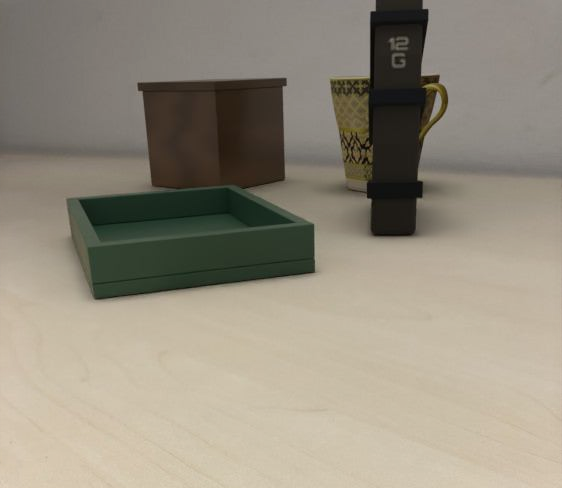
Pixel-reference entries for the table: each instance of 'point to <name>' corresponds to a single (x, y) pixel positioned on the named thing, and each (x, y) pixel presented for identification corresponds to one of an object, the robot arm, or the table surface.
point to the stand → (215, 132)
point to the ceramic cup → (355, 122)
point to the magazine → (396, 113)
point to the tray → (185, 239)
